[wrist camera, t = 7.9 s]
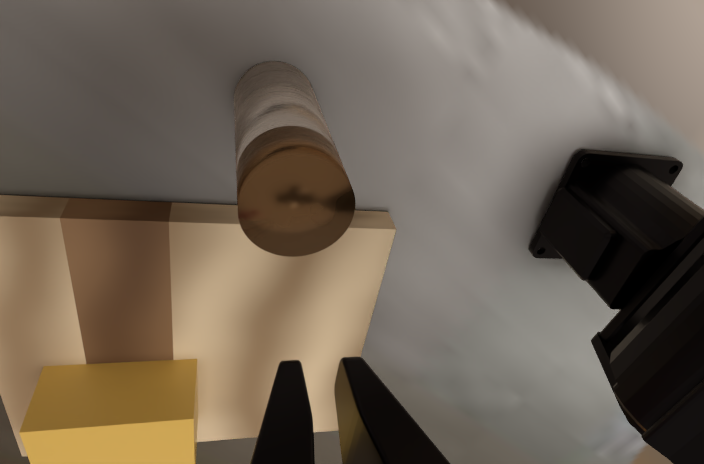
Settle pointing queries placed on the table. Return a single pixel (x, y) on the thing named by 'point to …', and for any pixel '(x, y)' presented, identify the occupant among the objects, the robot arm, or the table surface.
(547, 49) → the table surface
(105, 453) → the mustard yellow box
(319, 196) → the bronze metal canister
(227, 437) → the board
